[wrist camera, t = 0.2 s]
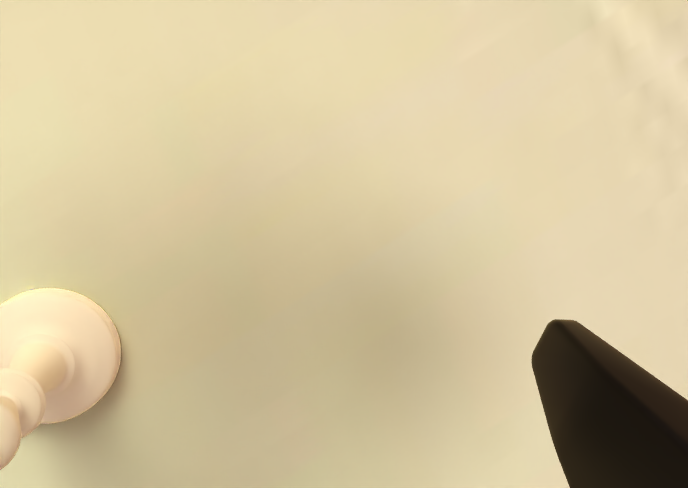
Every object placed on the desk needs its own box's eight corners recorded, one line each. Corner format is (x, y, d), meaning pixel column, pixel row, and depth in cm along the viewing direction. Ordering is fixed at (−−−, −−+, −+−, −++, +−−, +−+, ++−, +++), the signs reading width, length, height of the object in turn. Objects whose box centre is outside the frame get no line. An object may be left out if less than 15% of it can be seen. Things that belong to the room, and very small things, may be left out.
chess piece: (-27, 289, 22) (-203, 369, 12) (120, 286, 23) (63, 356, 14) (-22, 424, 23) (-187, 602, 13) (122, 414, 24) (69, 572, 14)
